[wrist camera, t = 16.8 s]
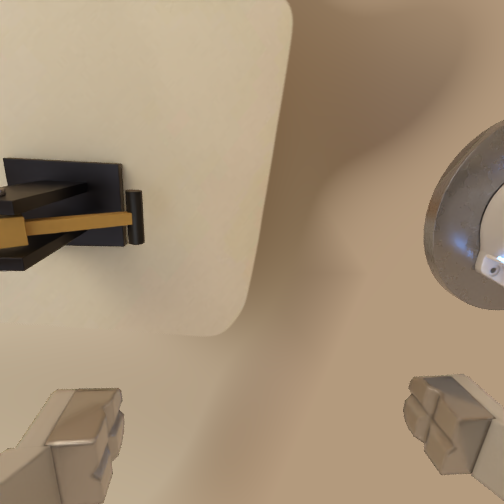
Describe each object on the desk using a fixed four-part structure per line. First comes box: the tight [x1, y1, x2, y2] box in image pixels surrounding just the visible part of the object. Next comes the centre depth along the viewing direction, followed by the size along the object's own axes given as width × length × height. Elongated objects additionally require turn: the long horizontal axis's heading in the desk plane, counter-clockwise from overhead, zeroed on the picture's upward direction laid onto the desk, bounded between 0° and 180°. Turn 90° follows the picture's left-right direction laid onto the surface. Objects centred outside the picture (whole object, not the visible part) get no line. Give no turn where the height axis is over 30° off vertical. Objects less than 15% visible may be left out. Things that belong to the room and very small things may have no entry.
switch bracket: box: [0, 158, 127, 271], centre depth 27 cm, size 11×9×14 cm
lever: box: [0, 190, 145, 249], centre depth 26 cm, size 12×5×2 cm
